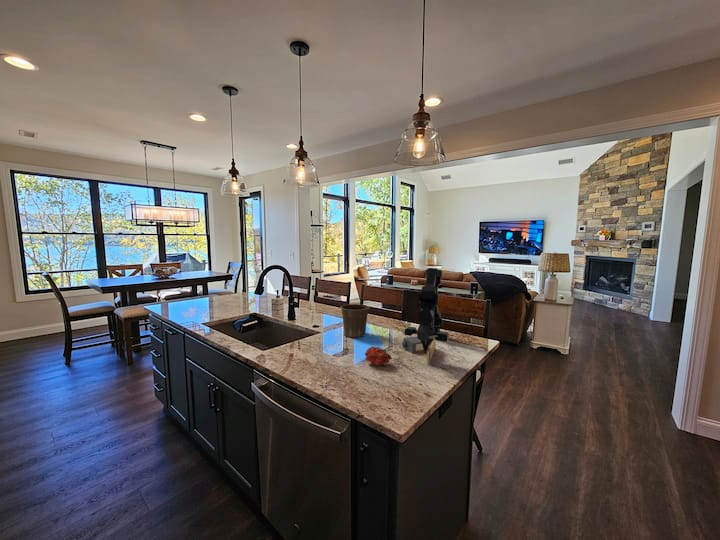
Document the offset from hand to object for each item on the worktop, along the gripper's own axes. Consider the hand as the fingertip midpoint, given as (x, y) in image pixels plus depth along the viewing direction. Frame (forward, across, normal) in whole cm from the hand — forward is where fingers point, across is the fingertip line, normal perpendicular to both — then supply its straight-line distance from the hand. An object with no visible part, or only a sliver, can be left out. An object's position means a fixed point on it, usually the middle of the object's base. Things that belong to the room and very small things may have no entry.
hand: (425, 352), depth 131 cm
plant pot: (+4, -45, +19) cm, 49 cm away
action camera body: (+4, -7, +13) cm, 15 cm away
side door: (+3, +1, +6) cm, 7 cm away
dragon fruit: (+5, -17, -13) cm, 22 cm away
